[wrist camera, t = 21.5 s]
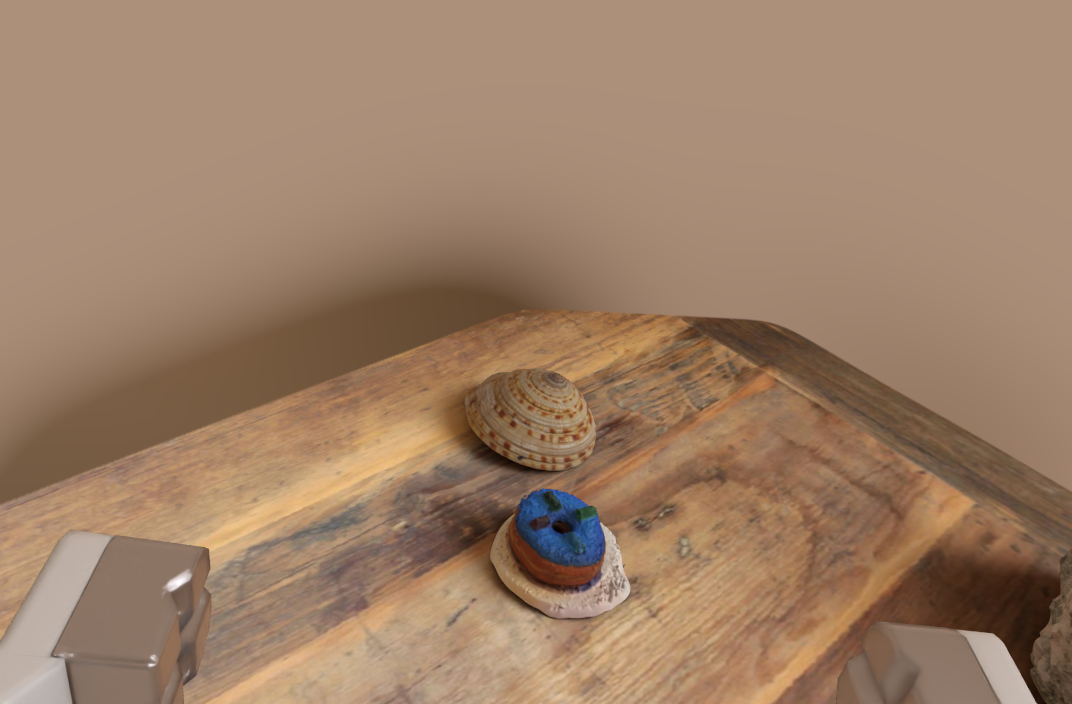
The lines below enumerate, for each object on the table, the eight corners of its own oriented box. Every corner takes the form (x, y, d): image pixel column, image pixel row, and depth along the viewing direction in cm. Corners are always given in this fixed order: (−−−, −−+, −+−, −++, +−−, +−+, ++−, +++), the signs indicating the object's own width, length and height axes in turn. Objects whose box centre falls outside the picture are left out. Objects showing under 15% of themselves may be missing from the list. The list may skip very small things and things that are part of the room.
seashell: (475, 351, 60) (589, 341, 58) (494, 418, 63) (604, 411, 61) (442, 422, 53) (570, 413, 51) (465, 494, 56) (588, 488, 54)
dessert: (459, 524, 49) (531, 449, 48) (526, 541, 54) (592, 473, 53) (532, 643, 44) (614, 562, 43) (598, 649, 49) (672, 577, 48)
